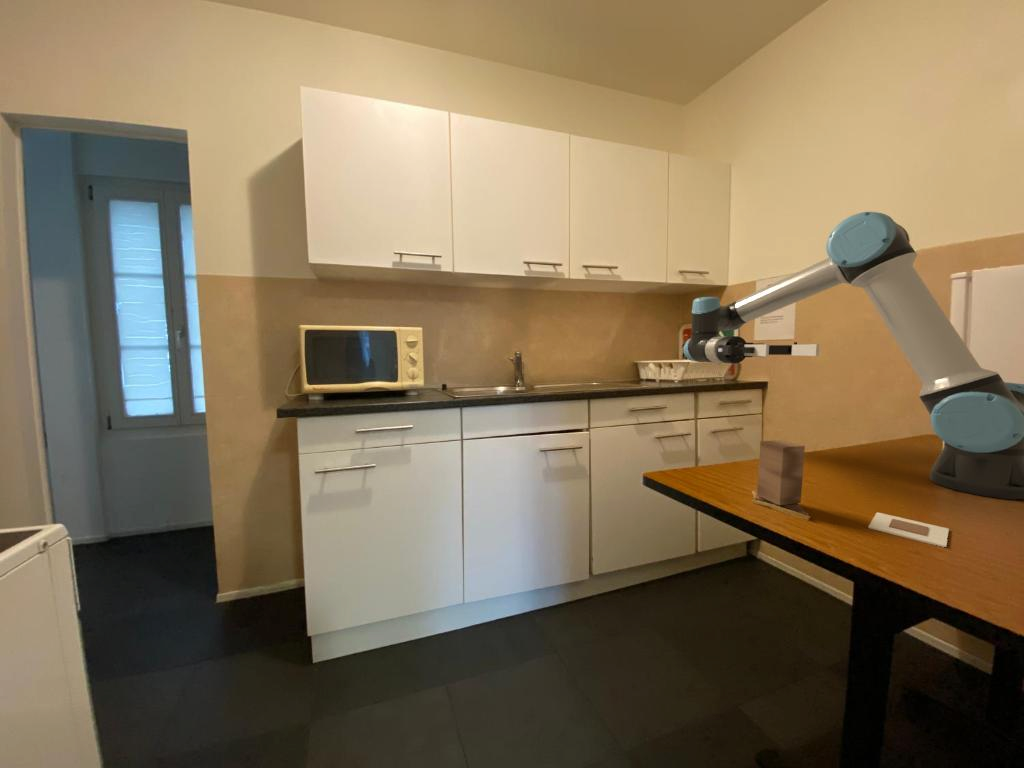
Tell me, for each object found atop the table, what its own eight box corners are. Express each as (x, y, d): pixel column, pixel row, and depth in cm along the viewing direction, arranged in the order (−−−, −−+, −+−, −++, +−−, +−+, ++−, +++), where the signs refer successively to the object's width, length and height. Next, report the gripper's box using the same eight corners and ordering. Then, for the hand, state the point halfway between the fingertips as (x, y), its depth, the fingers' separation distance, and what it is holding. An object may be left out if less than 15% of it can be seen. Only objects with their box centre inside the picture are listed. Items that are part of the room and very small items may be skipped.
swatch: (948, 530, 67) (948, 527, 67) (946, 547, 61) (946, 544, 61) (876, 513, 74) (876, 511, 74) (868, 528, 68) (868, 525, 68)
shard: (810, 524, 71) (811, 514, 71) (761, 519, 73) (761, 509, 73) (789, 502, 81) (789, 493, 81) (746, 497, 83) (746, 489, 83)
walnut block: (777, 493, 81) (780, 439, 80) (800, 502, 76) (804, 445, 75) (757, 495, 80) (760, 441, 79) (779, 505, 75) (783, 447, 74)
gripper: (764, 362, 116) (836, 365, 95) (686, 363, 111) (744, 367, 90) (765, 336, 115) (838, 334, 94) (687, 336, 110) (746, 333, 90)
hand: (793, 350), depth 92 cm, fingers open, 13 cm apart
